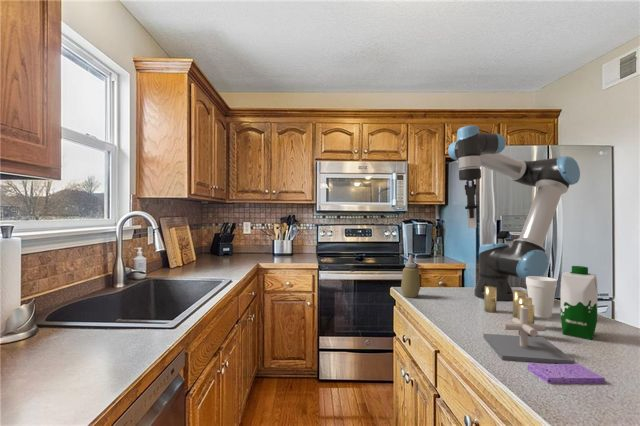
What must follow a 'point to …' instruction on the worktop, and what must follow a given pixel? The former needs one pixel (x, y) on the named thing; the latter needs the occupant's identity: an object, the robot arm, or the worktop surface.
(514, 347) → the rubber mat
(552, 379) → the sponges
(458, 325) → the worktop surface
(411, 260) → the squeeze bottle
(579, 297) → the milk carton
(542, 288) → the foam cup
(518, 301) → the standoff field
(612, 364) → the worktop surface
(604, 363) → the worktop surface
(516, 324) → the pipe connector
